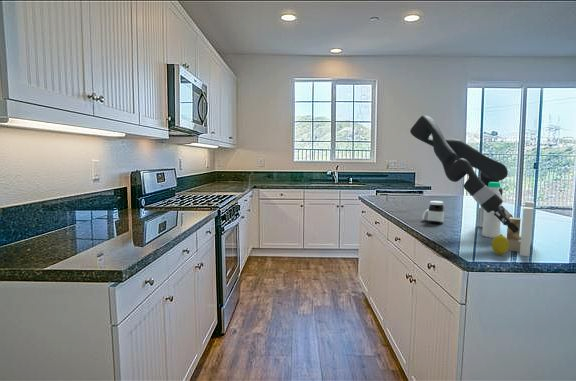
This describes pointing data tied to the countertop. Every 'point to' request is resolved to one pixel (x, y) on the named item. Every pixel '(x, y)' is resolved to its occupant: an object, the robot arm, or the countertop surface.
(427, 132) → the robot arm
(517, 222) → the tan wooden block
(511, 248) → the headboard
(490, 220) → the water bottle
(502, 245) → the lemon
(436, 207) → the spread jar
